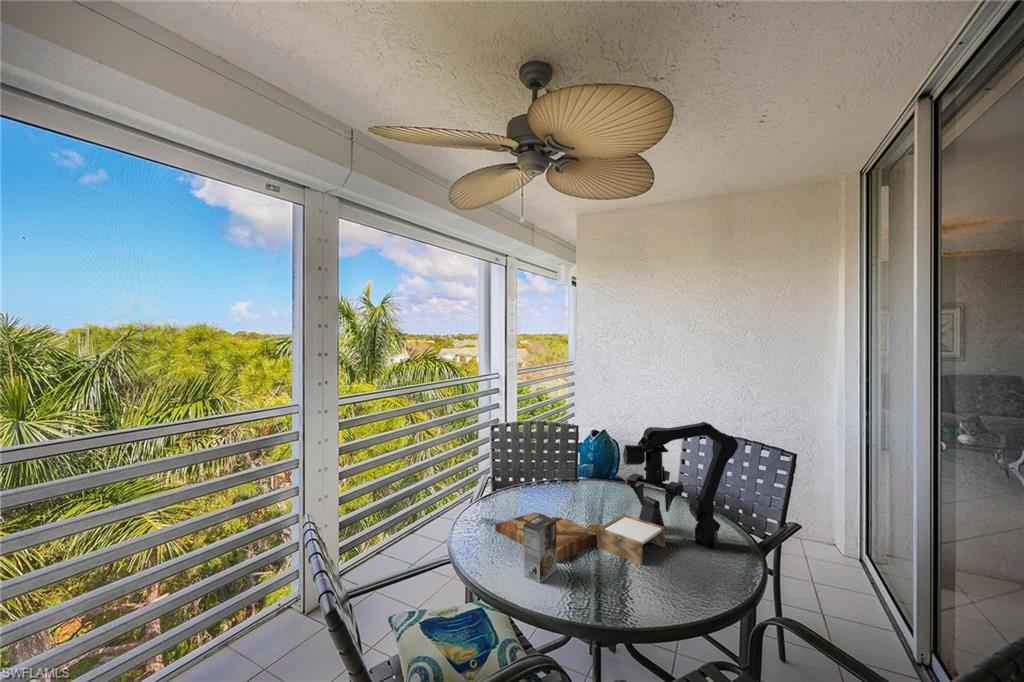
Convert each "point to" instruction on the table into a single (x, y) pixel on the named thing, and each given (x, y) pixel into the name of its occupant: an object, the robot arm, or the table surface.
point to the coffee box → (540, 548)
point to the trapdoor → (634, 530)
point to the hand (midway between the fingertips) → (654, 508)
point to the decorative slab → (567, 534)
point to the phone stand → (651, 512)
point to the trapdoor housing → (626, 541)
